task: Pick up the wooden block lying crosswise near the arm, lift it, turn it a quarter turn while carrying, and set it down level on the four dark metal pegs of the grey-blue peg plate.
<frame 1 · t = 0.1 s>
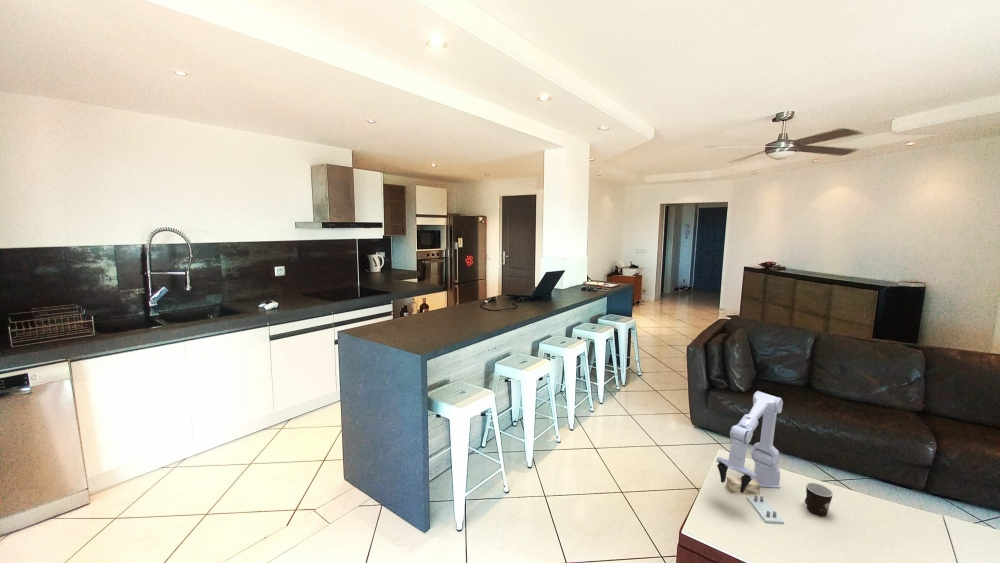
hand: (732, 486, 162), 11 cm above the table, tool pointing down, fingers open, 7 cm apart
wooden block: (742, 491, 176), on the table
peg plate: (764, 510, 163), on the table
coffee mug: (812, 511, 163), on the table
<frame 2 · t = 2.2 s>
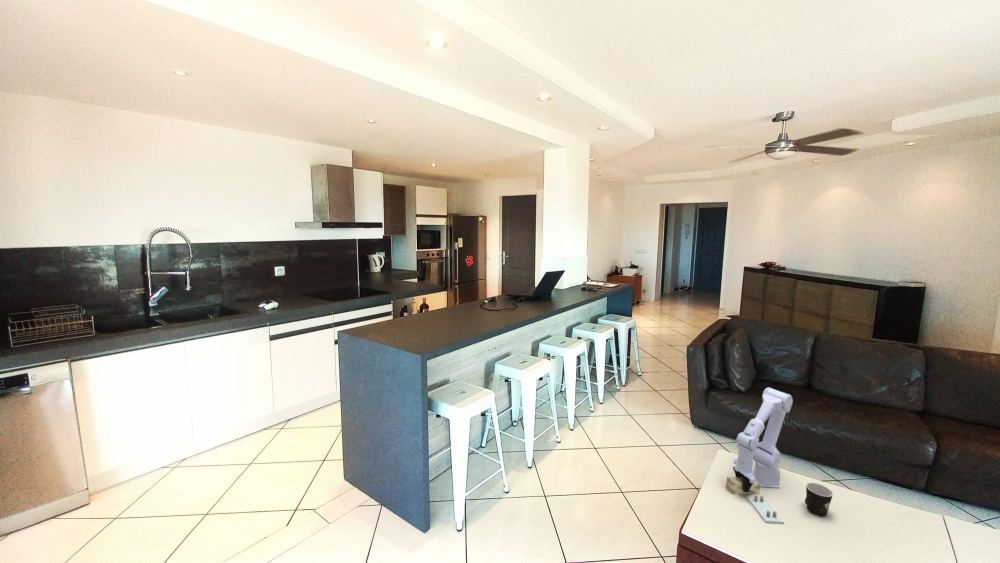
hand: (742, 487, 176), 1 cm above the table, tool pointing down, fingers closed on wooden block, 4 cm apart
wooden block: (742, 490, 176), on the table, touching gripper
everything else where it was.
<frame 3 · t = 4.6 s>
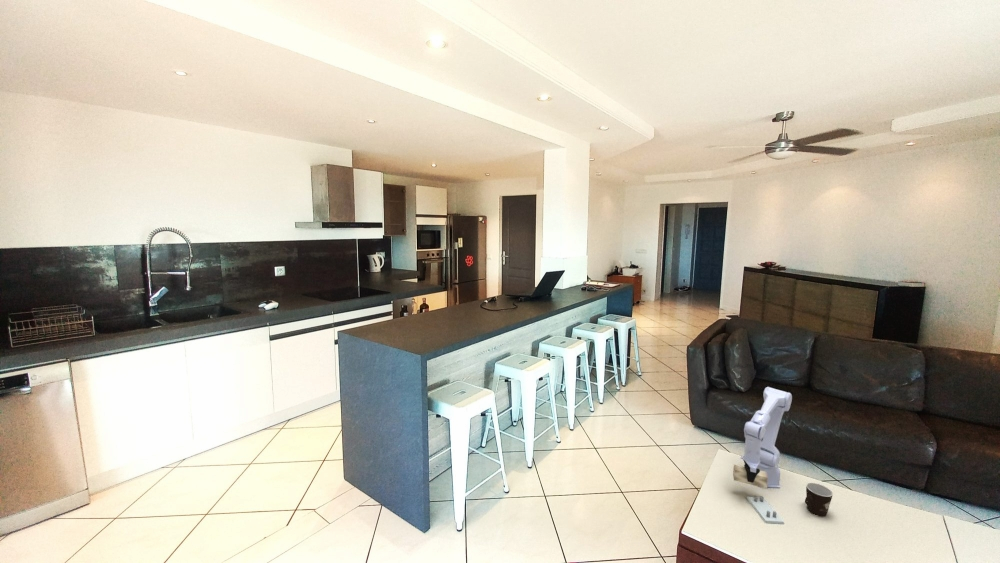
hand: (749, 478, 171), 8 cm above the table, tool pointing down, fingers closed on wooden block, 4 cm apart
wooden block: (749, 481, 171), point 7 cm above the table, touching gripper
everything else where it was.
when the fingers open (5 cm above the table, at t = 7.3 s): wooden block stays where it is, resting on peg plate.
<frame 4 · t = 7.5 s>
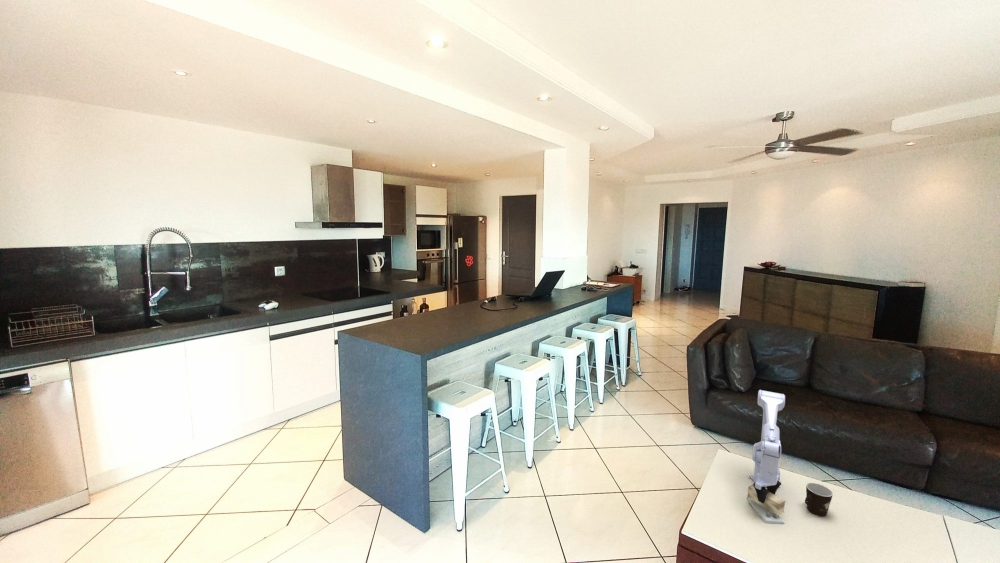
hand: (765, 499, 162), 5 cm above the table, tool pointing down, fingers open, 6 cm apart
wooden block: (765, 504, 163), point 3 cm above the table, touching peg plate
everything else where it was.
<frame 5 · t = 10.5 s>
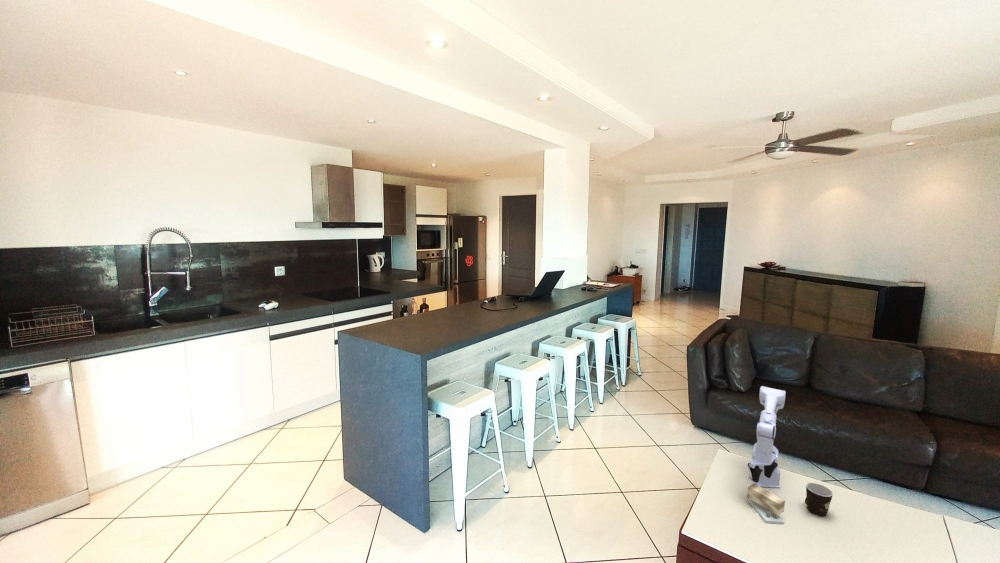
hand: (761, 479, 169), 9 cm above the table, tool pointing down, fingers open, 7 cm apart
nothing on the table moved.
at the end: wooden block 0.0 cm off-centre on the peg plate, point 3.0 cm above the peg plate's base; wooden block tilted 0°; the gripper is holding nothing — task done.
